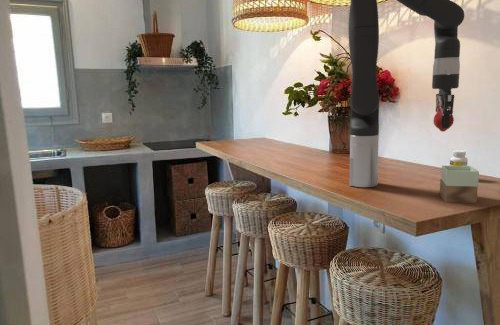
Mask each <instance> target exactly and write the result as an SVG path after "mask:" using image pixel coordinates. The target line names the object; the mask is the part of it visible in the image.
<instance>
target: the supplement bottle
mask: <svg viewBox="0 0 500 325" xmlns="http://www.w3.org/2000/svg"><path fill="white" fill-rule="evenodd" d="M466 154H467V151H466V150H462V149H461V150H460V149H459V150H458V149H456V150H453V151H452V157H450V159H449V166H468V158H467V157H466Z"/></svg>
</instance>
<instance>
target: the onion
mask: <svg viewBox="0 0 500 325" xmlns="http://www.w3.org/2000/svg"><path fill="white" fill-rule="evenodd" d="M446 110H448V109H446ZM441 114H442V110H440V111H439V112H436V113H435V115H434V117H433V120H432V122H433V124H434V126H435V127H436V128H437V130H439V131H440V132H446V131H447V130H449V129H450V128H451V127H452V126H453V124H454V120H455V118H454V115H453V113H452V114H451V116H450V125H449V128H442V127H441V122H442V115H441Z"/></svg>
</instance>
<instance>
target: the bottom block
mask: <svg viewBox="0 0 500 325" xmlns="http://www.w3.org/2000/svg"><path fill="white" fill-rule="evenodd" d="M478 187H479V186H478ZM478 187H475V186H446V185H445V183H444V182H443V181H442V180H441V179H440V182H439V196H440V197H441V198H442V200H443V201H444V202H445V203H461V204H463V203H466V204H467V203H468V204H469V203H470V204H477V203H478V202H477V200H478V189H479V188H478Z"/></svg>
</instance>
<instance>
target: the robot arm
mask: <svg viewBox="0 0 500 325" xmlns="http://www.w3.org/2000/svg"><path fill="white" fill-rule="evenodd" d="M396 1H397V2H399V4H402V5H403V6H405V8H408V9H410V11H413V12H414V13H416V14H418V15H419V16H421V17H428V18H429V19H431V20H433V21H434V22H433V31H434V32H433V33H434V42H435V45H434V59H433V65H432V78H431V80H432V82H431V88H432V89H433V90H438V93H436V94H435V112H436V113H437V112H439V111H440V110H442V114H441V115H442V122H441V127H442V128H449V125H450V116H451V114H452V115H453V114H454V113H453V112H454V104H455V103H454V102H455V94H452V90H453V89H458V88H459V84H460V71H461V70H460V68H461V64H460V53H461V41H460V40H459V38H458V27H459V26H460V25H461V24H462V23H463V21H464V19H465V12H464V9H463V7H462V6H460V5H459V4H458V3H456V2H455V1H452V0H396ZM378 10H379V9H378V1H377V0H350V5H349V12H348V48H349V58H350V62H351V64H350V65H351V70H352V71H351V72H352V76H351V77H352V78H351V91H350V97H349V98H350V99H349V103H350V120H349V125H350V126H349V187H356V188H357V187H358V188H374V187H377V186H378V184H379V183H378V180H379V179H378V178H379V176H378V175H379V142H380V141H379V140H380V139H379V138H380V137H379V133H380V132H379V131H380V130H379V128H380V126H379V125H380V124H379V123H380V121H379V119H380V118H379V117H380V116H379V115H380V101H381V100H380V94H379V88H378V78H377V64H378V56H379V55H378V54H379V46H380V45H379V44H380V41H379V40H380V27H379V26H380V25H379V22H380V21H379V11H378ZM446 109H447V110H446ZM449 129H450V128H449Z"/></svg>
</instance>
